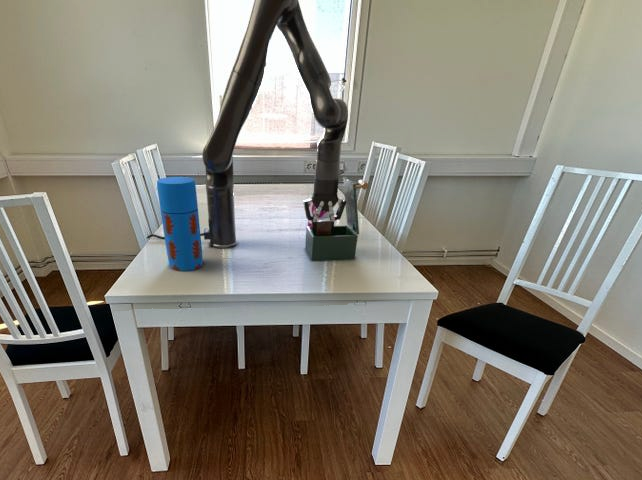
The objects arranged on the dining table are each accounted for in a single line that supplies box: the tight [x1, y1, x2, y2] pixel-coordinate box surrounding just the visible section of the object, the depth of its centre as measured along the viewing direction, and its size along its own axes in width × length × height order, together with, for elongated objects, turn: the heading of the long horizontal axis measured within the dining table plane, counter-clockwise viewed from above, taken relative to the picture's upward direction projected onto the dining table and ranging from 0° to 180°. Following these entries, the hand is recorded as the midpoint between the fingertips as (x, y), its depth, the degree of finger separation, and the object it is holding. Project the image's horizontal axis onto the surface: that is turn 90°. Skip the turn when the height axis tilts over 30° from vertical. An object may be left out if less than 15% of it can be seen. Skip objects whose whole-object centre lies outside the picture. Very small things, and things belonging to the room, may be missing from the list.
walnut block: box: [316, 217, 332, 236], centre depth 129 cm, size 5×5×5 cm
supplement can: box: [306, 192, 330, 228], centre depth 146 cm, size 8×8×15 cm
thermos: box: [156, 176, 204, 272], centre depth 119 cm, size 11×11×25 cm
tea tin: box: [304, 225, 359, 262], centre depth 133 cm, size 15×12×8 cm
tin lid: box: [342, 176, 369, 236], centre depth 126 cm, size 15×12×6 cm
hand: (322, 232), depth 130 cm, fingers closed on walnut block, 4 cm apart
